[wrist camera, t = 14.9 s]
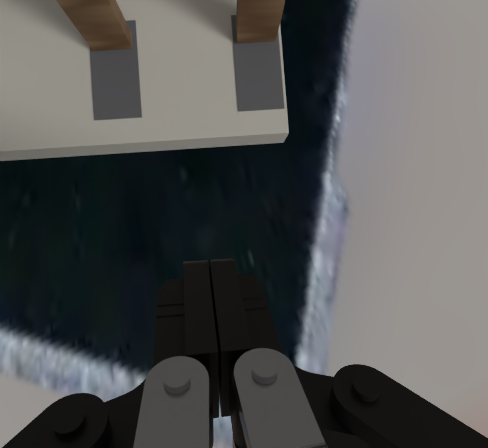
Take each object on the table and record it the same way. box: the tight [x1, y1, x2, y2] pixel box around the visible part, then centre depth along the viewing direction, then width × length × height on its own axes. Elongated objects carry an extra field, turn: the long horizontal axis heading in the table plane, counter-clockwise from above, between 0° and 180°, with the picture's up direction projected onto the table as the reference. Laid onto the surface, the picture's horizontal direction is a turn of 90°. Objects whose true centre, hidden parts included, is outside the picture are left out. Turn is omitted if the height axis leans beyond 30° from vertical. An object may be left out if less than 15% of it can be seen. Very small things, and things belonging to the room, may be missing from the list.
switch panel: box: [0, 0, 289, 161], centre depth 31 cm, size 27×12×3 cm, turn 94°
